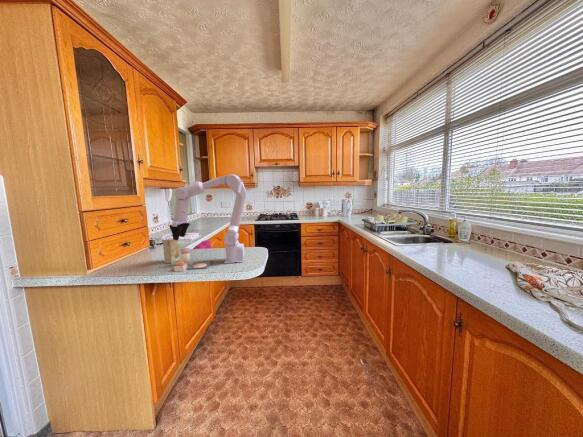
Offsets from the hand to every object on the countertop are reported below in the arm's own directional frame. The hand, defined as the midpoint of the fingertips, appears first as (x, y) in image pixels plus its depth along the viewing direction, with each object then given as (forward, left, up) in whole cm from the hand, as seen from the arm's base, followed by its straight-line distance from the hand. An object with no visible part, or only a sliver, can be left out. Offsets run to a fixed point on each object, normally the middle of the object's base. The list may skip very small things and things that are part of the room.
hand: (179, 238), depth 115 cm
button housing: (-3, +8, -14) cm, 16 cm away
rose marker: (-2, 0, -14) cm, 14 cm away
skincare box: (+7, -6, -14) cm, 17 cm away
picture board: (-10, +4, -14) cm, 17 cm away
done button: (-3, +8, -12) cm, 15 cm away
